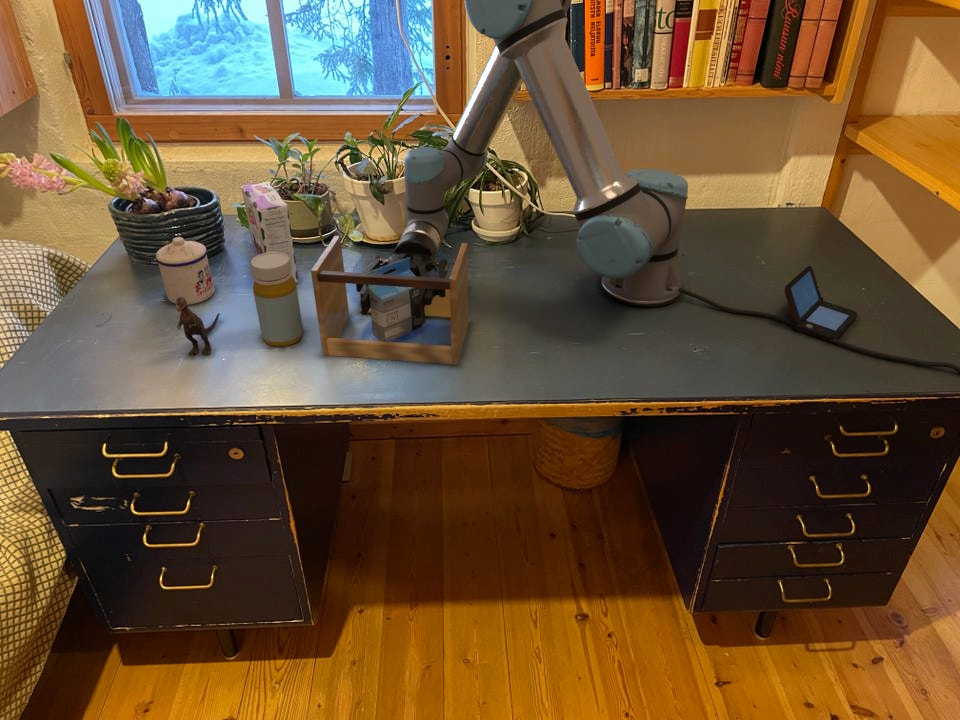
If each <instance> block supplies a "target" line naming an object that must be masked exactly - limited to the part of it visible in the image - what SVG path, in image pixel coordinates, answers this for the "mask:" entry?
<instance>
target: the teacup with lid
mask: <svg viewBox="0 0 960 720" xmlns="http://www.w3.org/2000/svg"><path fill="white" fill-rule="evenodd" d="M155 261H156V262H157V263H158V267H159V271H160V275H161V279H162V283H163V286H164V289H165V293H166V297H167V299H168V301H170V302H171V303H173V304H175V305H176V299H177V298H179V297H184V298H185V300H186V301H187V306H188V305H196V304H198V303H199V304H200V303H202V302H205V301H206V300H208V299H210V298H211V297H212V296H213V295H214V293H215V285H214V281H213V276H212V272H211V268H210V263H209V259H208V249H207V248H206V246H205V245H204V244H203V243H202V242H201V243H200V242H198V241H193V240H185V239H184V238H183V237H181V236H177V237H174V238H173V239H172V241H171V243H169V244H167V245H164V246H162V247H161V248H159V249H158V250H157V251H156V253H155Z"/></svg>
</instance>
